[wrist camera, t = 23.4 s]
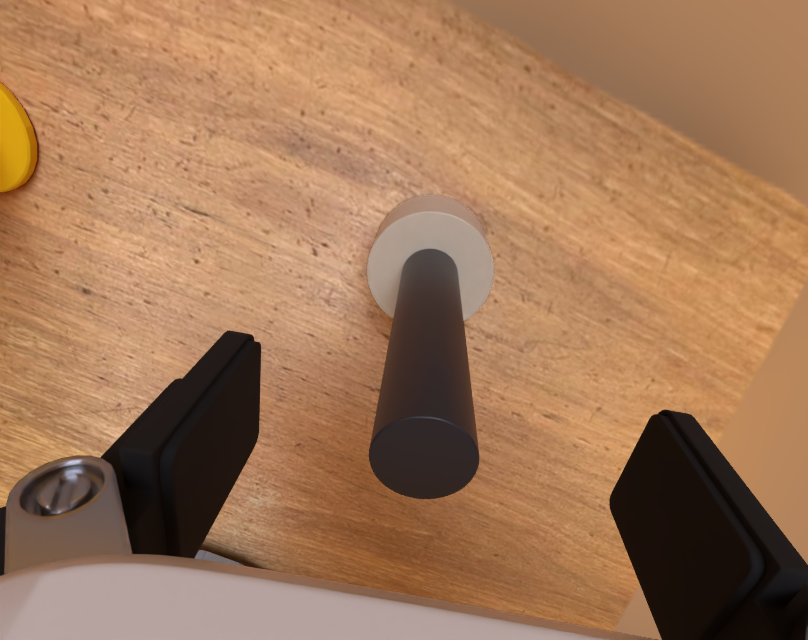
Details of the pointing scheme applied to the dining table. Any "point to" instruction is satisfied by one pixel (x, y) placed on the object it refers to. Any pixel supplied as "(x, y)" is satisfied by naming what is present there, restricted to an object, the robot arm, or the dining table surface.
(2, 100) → the candle
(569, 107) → the dining table surface
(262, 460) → the dining table surface
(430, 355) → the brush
